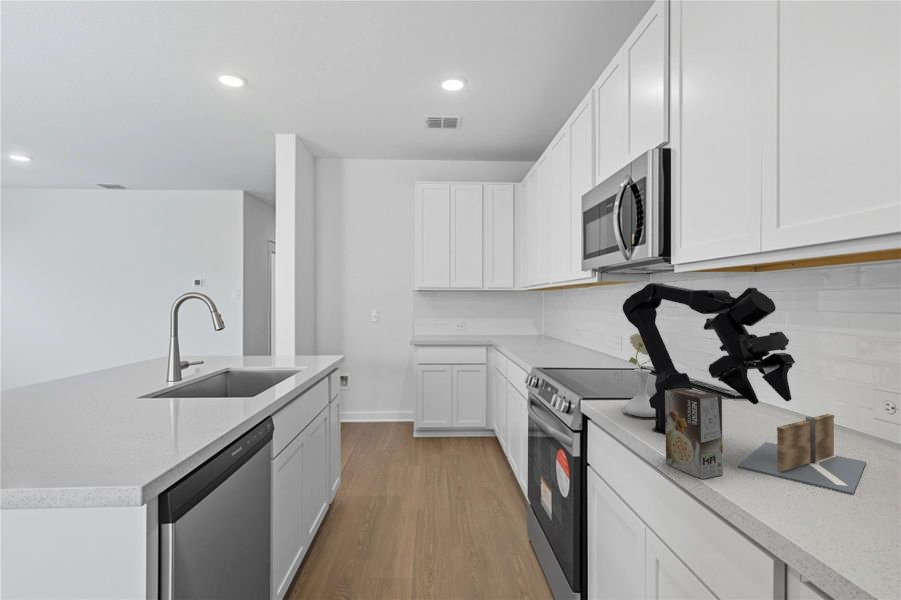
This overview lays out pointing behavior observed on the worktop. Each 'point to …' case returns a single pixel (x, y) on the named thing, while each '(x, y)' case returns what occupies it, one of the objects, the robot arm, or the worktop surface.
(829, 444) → the fence fixed
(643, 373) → the flower in vase
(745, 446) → the worktop surface
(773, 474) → the mat
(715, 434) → the coffee box
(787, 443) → the fence panel
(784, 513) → the worktop surface
